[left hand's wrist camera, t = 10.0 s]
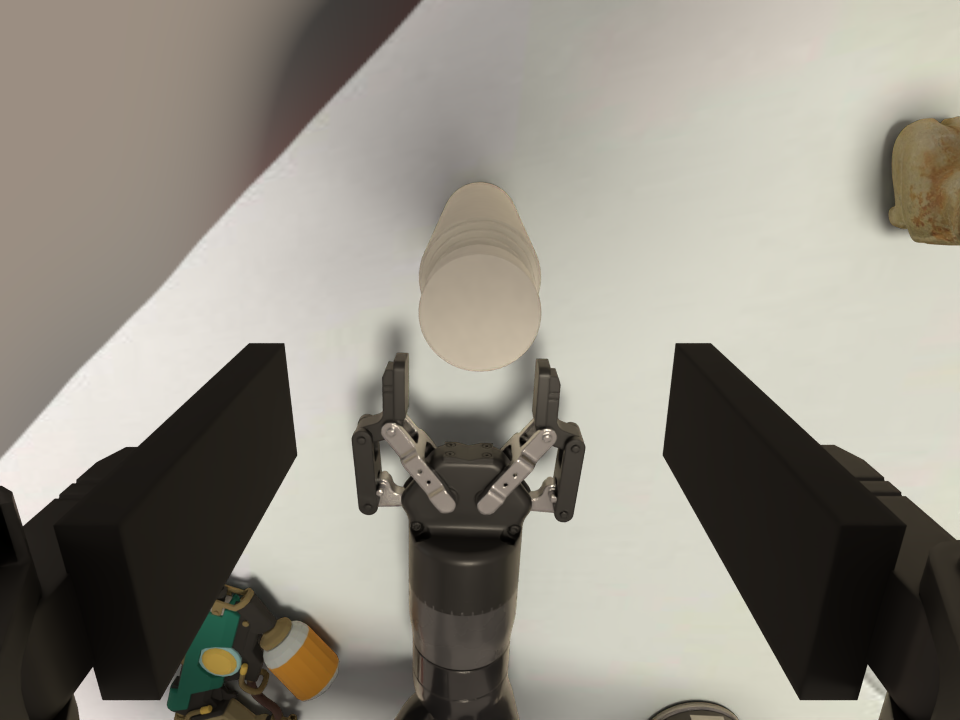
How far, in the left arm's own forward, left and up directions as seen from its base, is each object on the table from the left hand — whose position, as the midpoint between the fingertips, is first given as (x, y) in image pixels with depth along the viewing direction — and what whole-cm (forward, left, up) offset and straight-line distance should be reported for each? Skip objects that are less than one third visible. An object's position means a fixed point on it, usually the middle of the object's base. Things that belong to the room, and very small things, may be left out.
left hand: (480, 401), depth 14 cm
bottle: (0, 0, -29) cm, 29 cm away
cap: (0, 0, -7) cm, 7 cm away
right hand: (+5, +5, -22) cm, 24 cm away
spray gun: (+40, +13, -29) cm, 51 cm away
